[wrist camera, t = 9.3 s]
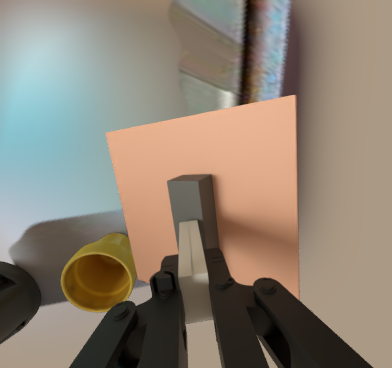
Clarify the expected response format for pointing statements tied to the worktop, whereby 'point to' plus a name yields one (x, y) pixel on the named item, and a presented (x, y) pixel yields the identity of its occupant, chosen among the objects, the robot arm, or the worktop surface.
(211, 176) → the lid
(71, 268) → the plant pot
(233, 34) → the worktop surface
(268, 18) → the worktop surface
